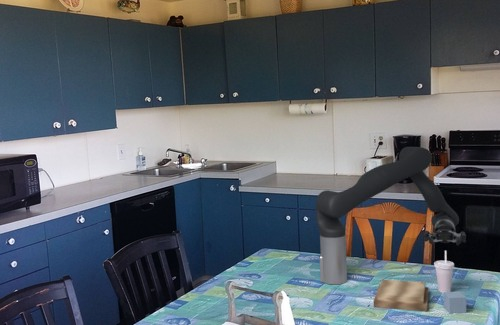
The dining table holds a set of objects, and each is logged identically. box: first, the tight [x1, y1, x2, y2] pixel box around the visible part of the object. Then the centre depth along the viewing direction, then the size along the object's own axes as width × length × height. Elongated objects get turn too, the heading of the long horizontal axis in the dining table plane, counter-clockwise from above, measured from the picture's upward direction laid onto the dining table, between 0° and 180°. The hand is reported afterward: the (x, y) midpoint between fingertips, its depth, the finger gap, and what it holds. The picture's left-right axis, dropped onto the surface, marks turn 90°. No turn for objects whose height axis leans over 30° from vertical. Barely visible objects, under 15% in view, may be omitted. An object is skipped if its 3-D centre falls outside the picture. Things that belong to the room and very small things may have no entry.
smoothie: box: [433, 250, 455, 294], centre depth 175 cm, size 6×6×14 cm
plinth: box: [373, 279, 430, 313], centre depth 170 cm, size 16×16×4 cm
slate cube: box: [442, 290, 467, 315], centre depth 160 cm, size 5×5×5 cm
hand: (444, 242), depth 185 cm, fingers open, 8 cm apart
